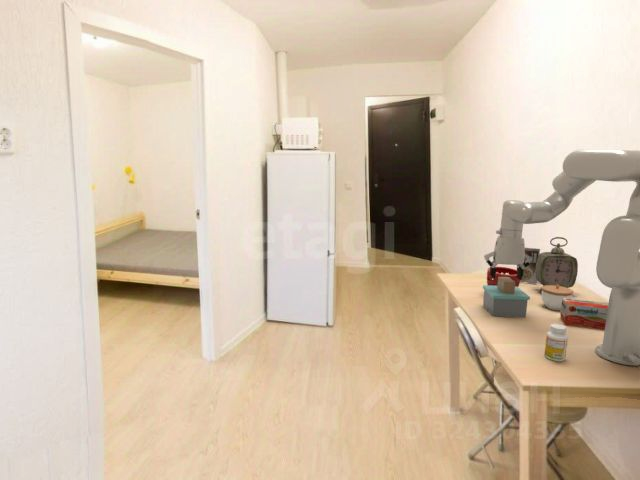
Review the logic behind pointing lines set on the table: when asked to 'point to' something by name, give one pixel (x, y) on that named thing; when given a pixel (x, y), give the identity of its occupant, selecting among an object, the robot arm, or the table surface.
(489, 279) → the plant pot
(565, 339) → the supplement bottle
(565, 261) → the tabletop clock
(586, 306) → the medicine box
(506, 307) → the storage box
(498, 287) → the teal base with post
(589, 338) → the table surface
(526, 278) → the coffee box
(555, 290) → the lidded jar
